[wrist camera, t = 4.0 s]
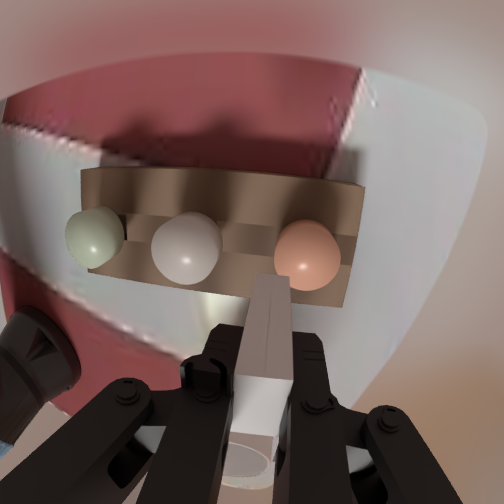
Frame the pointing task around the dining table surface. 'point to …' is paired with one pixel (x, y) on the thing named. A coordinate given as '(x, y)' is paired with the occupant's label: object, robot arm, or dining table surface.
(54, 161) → the dining table surface
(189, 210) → the cardboard egg tray
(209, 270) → the grey egg
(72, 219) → the sage egg
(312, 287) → the orange egg
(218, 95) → the dining table surface
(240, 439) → the mug
